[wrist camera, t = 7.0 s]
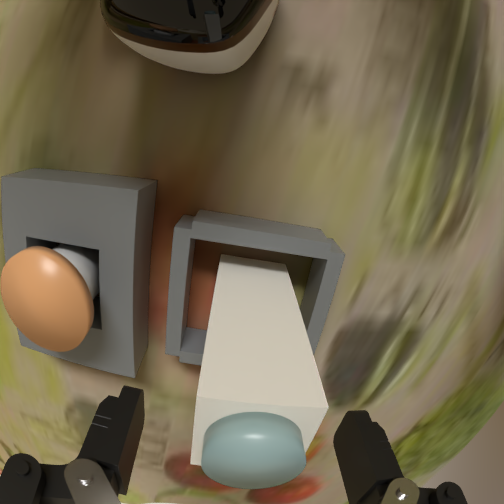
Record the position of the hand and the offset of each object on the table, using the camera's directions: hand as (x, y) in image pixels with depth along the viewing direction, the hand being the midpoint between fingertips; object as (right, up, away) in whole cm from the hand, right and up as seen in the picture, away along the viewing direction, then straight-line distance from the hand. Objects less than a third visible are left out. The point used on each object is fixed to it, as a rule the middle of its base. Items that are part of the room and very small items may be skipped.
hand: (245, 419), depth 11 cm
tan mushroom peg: (-12, +5, +10) cm, 16 cm away
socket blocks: (-6, +5, +11) cm, 13 cm away
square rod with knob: (0, +4, +11) cm, 12 cm away
